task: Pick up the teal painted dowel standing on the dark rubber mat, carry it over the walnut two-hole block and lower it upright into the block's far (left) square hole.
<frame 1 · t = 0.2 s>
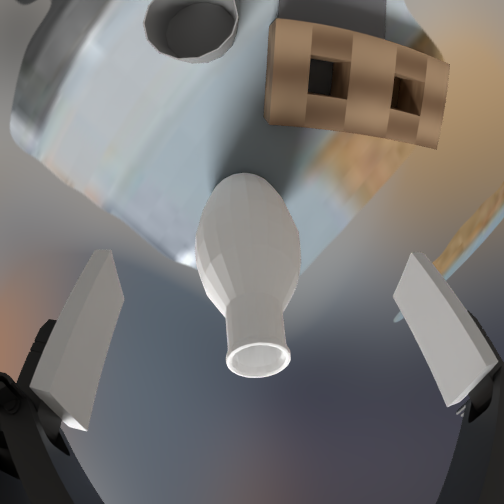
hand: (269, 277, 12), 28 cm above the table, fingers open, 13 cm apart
block: (351, 82, 31), on the table
bottle: (243, 201, 40), on the table
cup: (201, 32, 27), on the table
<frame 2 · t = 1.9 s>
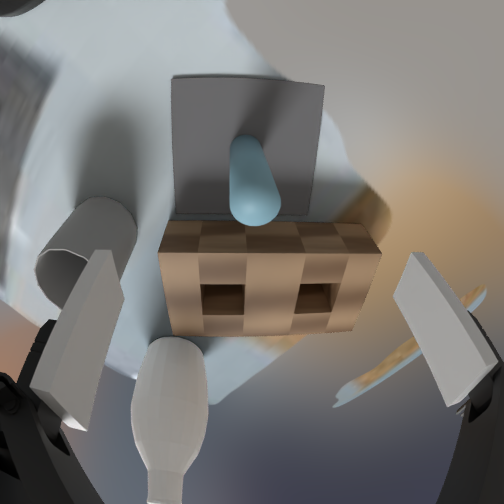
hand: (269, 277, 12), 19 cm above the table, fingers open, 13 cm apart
block: (265, 265, 35), on the table
peg: (245, 149, 27), resting on mat
bottle: (175, 351, 45), on the table
cup: (104, 228, 31), on the table
mat: (245, 148, 27), on the table
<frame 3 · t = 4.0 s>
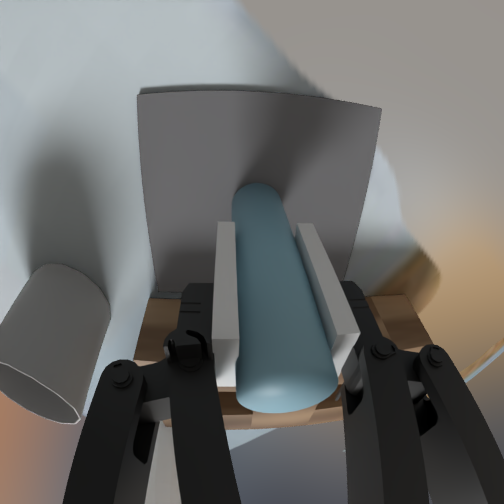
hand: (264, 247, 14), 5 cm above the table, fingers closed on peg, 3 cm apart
block: (279, 345, 26), on the table
peg: (256, 206, 18), point 1 cm above the table, touching gripper
bottle: (171, 417, 36), on the table
cup: (69, 299, 22), on the table
mat: (256, 205, 18), on the table
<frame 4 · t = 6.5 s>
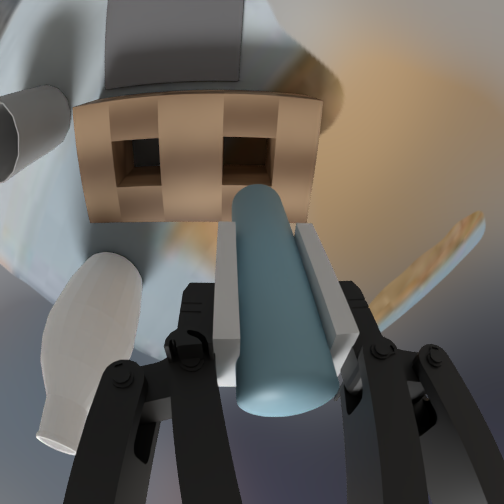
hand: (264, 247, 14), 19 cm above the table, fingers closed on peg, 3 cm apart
block: (197, 144, 29), on the table
peg: (256, 207, 18), point 15 cm above the table, touching gripper
bottle: (113, 275, 39), on the table
cup: (44, 118, 25), on the table
mat: (171, 19, 21), on the table
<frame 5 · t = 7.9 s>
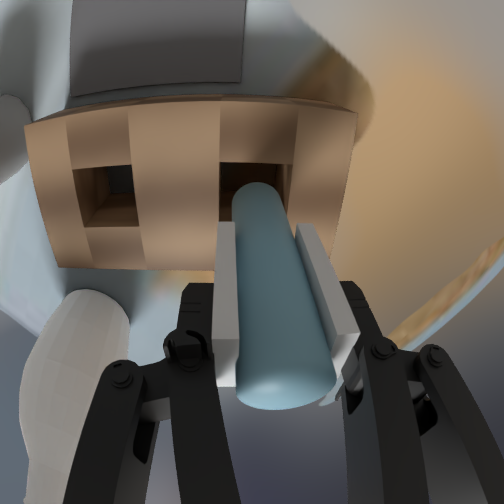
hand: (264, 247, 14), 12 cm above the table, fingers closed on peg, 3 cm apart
block: (187, 166, 23), on the table
peg: (256, 205, 18), point 7 cm above the table, touching gripper
bottle: (97, 312, 32), on the table
cup: (5, 134, 19), on the table
mat: (152, 4, 15), on the table
when the fingers open (8 cm above the table, at t = 9.1 s): peg drops 3 cm, resting in block.
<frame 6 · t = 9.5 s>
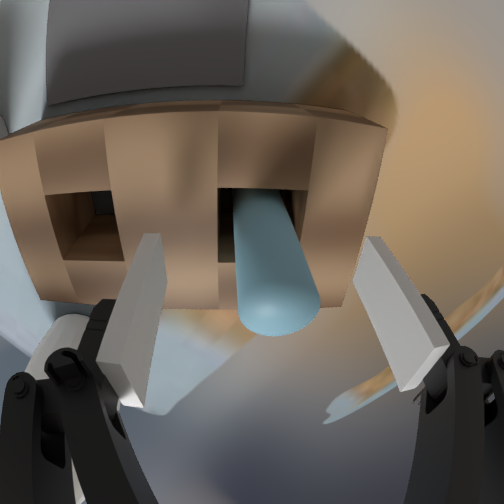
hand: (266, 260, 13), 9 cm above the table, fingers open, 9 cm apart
block: (181, 185, 20), on the table
peg: (253, 185, 20), resting in block
bottle: (89, 337, 29), on the table
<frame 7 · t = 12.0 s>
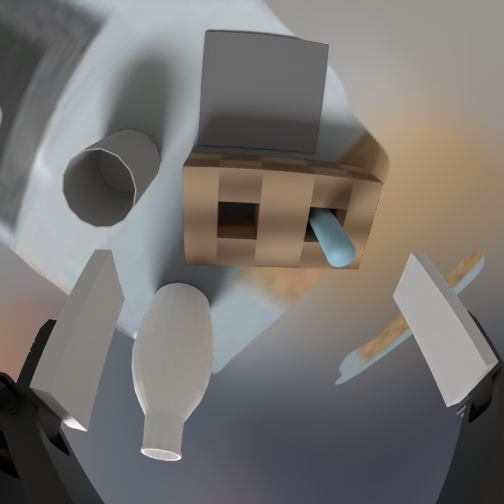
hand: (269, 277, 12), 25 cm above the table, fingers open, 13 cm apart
block: (275, 201, 38), on the table
peg: (313, 204, 38), resting in block
bottle: (181, 301, 46), on the table
cup: (129, 160, 33), on the table
mat: (263, 90, 30), on the table
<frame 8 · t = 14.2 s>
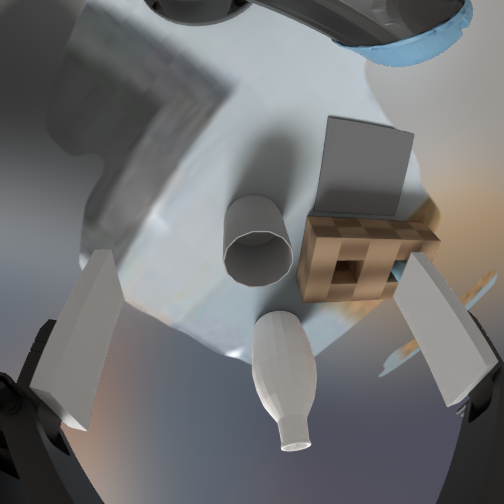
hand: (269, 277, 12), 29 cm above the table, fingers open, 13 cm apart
block: (362, 250, 48), on the table
peg: (387, 250, 48), resting in block
bottle: (276, 324, 57), on the table
cup: (252, 219, 43), on the table
mat: (365, 170, 39), on the table
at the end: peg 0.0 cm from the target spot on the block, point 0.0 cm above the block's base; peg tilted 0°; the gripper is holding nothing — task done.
